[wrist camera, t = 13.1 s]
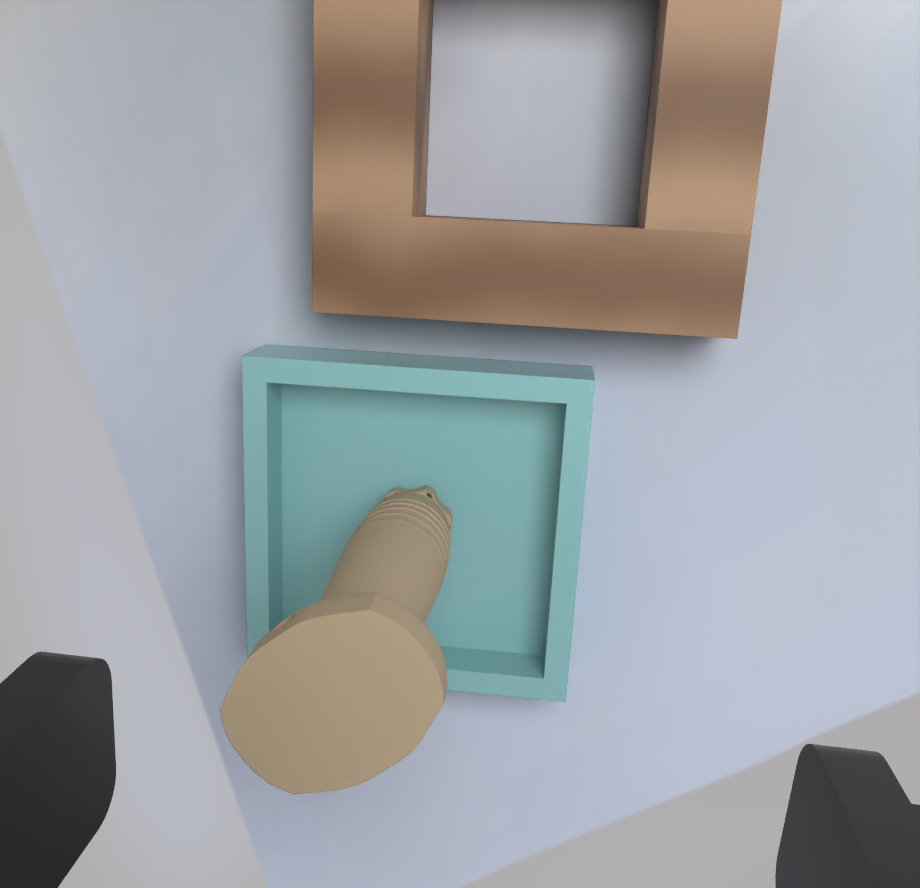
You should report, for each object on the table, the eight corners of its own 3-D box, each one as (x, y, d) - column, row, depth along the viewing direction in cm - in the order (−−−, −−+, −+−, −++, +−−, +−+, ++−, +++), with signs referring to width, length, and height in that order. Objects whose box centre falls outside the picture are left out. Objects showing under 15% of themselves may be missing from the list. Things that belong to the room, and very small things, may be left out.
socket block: (338, -128, 33) (314, -165, 30) (777, -120, 32) (803, -159, 28) (334, 302, 37) (312, 311, 34) (720, 326, 36) (736, 338, 33)
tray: (265, 344, 38) (241, 356, 35) (592, 366, 37) (595, 380, 34) (268, 637, 42) (247, 669, 39) (565, 666, 41) (565, 701, 38)
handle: (508, 519, 38) (477, 715, 24) (392, 595, 40) (296, 822, 25) (441, 430, 37) (366, 576, 23) (325, 512, 39) (187, 696, 24)
